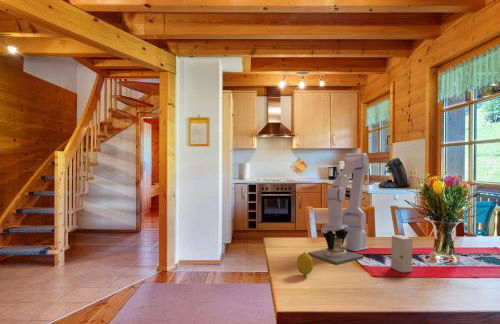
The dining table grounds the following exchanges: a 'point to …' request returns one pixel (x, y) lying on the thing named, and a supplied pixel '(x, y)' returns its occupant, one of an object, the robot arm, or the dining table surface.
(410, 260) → the skincare box
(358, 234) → the robot arm
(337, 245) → the cup
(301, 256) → the lemon
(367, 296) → the dining table surface
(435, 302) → the dining table surface
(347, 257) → the collar board
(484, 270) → the dining table surface
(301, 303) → the dining table surface
